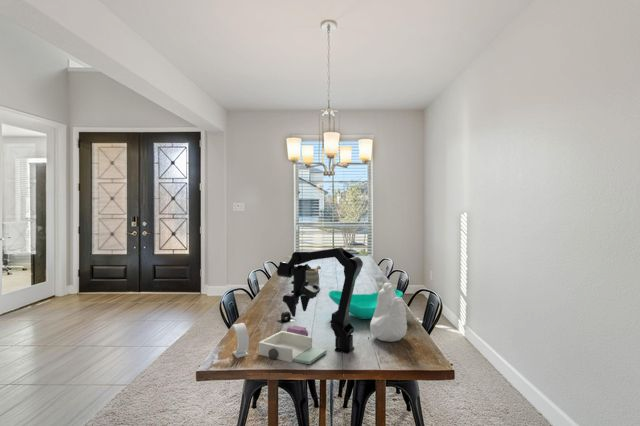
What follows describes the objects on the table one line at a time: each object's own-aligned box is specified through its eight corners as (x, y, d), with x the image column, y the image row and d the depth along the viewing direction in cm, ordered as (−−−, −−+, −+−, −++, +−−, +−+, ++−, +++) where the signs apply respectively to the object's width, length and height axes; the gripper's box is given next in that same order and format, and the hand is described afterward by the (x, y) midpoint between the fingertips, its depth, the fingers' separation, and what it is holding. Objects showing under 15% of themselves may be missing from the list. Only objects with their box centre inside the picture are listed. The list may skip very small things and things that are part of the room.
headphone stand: (243, 351, 164) (243, 322, 164) (249, 356, 159) (248, 326, 159) (232, 353, 162) (232, 324, 161) (238, 358, 157) (238, 328, 156)
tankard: (312, 293, 262) (312, 270, 262) (297, 290, 269) (297, 268, 268) (328, 287, 279) (328, 266, 278) (313, 285, 286) (313, 264, 285)
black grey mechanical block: (291, 317, 212) (291, 309, 212) (299, 321, 206) (300, 312, 206) (272, 322, 204) (272, 313, 204) (280, 325, 198) (280, 316, 198)
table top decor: (330, 326, 195) (330, 300, 195) (326, 310, 223) (326, 287, 222) (409, 325, 198) (410, 298, 197) (395, 309, 225) (395, 286, 225)
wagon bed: (313, 347, 168) (313, 336, 168) (288, 363, 152) (288, 350, 152) (283, 340, 176) (283, 329, 176) (256, 355, 160) (256, 343, 160)
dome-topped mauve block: (309, 338, 180) (309, 328, 179) (304, 341, 176) (304, 331, 176) (290, 333, 185) (290, 324, 185) (284, 336, 181) (284, 327, 181)
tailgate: (311, 350, 166) (326, 352, 162) (293, 361, 154) (309, 364, 151) (310, 347, 166) (326, 349, 162) (293, 358, 154) (309, 361, 151)
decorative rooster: (368, 331, 188) (368, 280, 187) (401, 331, 188) (401, 279, 187) (376, 352, 163) (376, 293, 162) (414, 352, 163) (414, 292, 162)
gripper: (304, 285, 162) (304, 322, 163) (325, 277, 179) (325, 311, 180) (282, 282, 168) (281, 318, 169) (304, 274, 184) (303, 307, 185)
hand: (299, 313), depth 175 cm, fingers open, 9 cm apart
